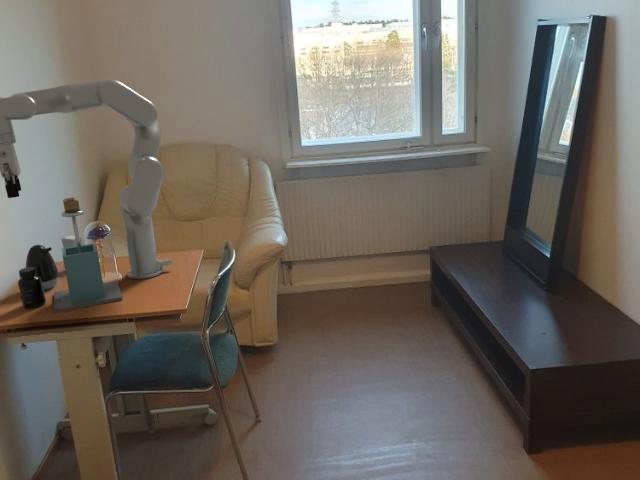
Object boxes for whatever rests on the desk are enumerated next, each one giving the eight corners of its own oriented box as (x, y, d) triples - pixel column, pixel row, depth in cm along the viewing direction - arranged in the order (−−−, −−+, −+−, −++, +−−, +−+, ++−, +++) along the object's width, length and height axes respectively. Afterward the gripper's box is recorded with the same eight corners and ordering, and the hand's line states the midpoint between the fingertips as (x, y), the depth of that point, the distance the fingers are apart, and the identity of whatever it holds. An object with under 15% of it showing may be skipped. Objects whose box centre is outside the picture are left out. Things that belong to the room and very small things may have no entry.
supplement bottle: (29, 301, 208) (21, 266, 205) (49, 300, 208) (42, 265, 204) (18, 309, 201) (11, 273, 198) (40, 308, 201) (33, 272, 198)
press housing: (117, 283, 219) (110, 238, 215) (122, 299, 204) (114, 251, 199) (54, 294, 212) (45, 248, 208) (55, 312, 197) (45, 262, 193)
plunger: (93, 260, 210) (82, 195, 203) (95, 266, 203) (83, 199, 197) (69, 264, 207) (57, 198, 201) (70, 270, 201) (57, 203, 194)
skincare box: (88, 267, 238) (82, 236, 235) (78, 271, 235) (72, 239, 231) (76, 265, 241) (70, 234, 238) (66, 269, 238) (60, 238, 234)
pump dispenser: (49, 293, 214) (41, 249, 210) (22, 293, 216) (13, 249, 212) (67, 282, 224) (59, 240, 219) (40, 282, 226) (32, 240, 221)
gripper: (13, 140, 189) (26, 197, 194) (17, 134, 205) (29, 187, 210) (-15, 144, 187) (-1, 201, 192) (-9, 138, 202) (4, 191, 208)
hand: (15, 194), depth 201 cm, fingers open, 9 cm apart
